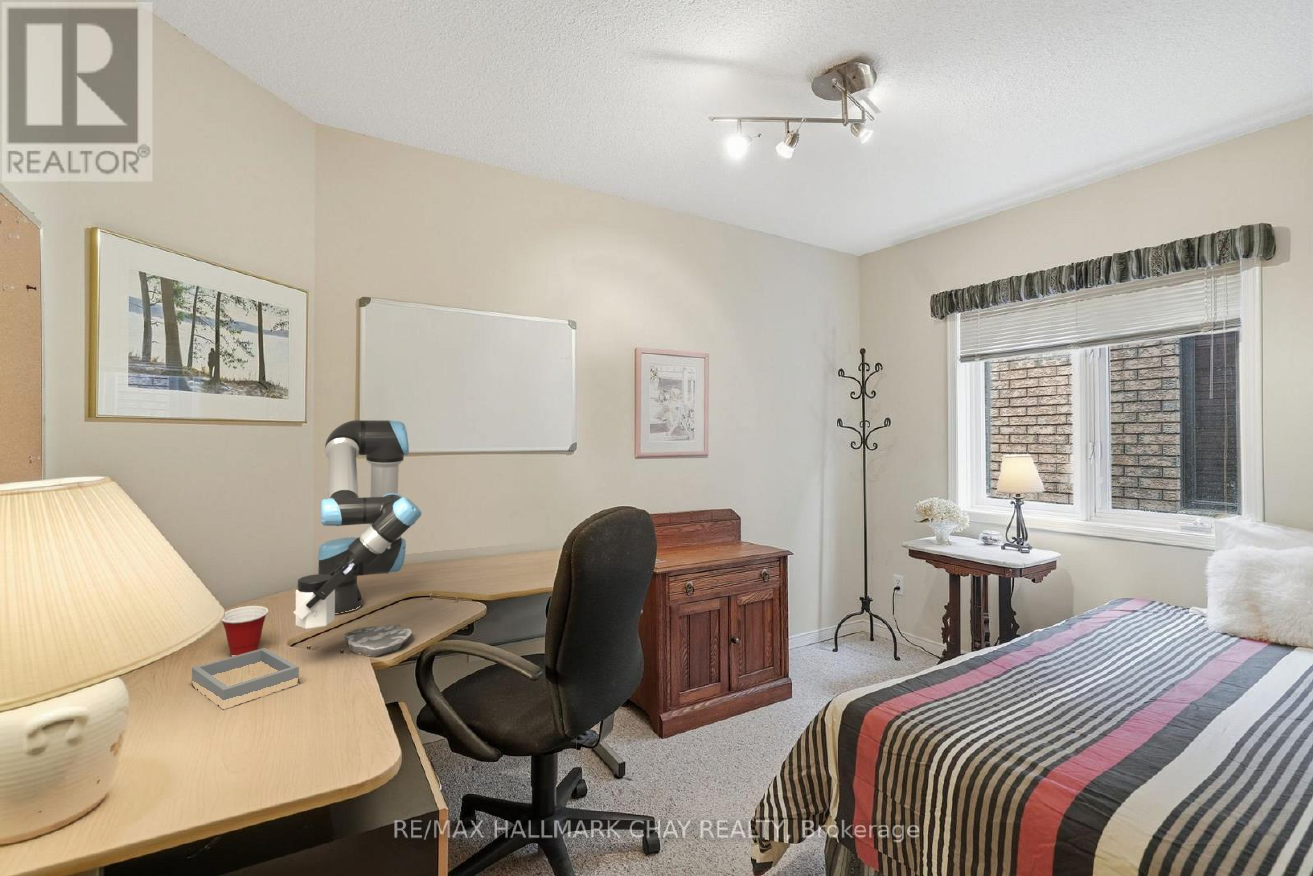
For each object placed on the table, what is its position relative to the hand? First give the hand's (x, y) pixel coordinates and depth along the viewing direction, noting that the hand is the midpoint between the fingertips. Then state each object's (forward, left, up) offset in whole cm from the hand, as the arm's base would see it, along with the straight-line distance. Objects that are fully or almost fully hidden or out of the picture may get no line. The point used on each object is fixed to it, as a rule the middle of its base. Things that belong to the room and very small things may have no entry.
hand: (301, 609), depth 153 cm
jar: (+2, +3, -4) cm, 5 cm away
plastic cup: (-18, -6, -15) cm, 25 cm away
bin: (+2, -13, -15) cm, 20 cm away
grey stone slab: (+2, +20, -15) cm, 26 cm away
